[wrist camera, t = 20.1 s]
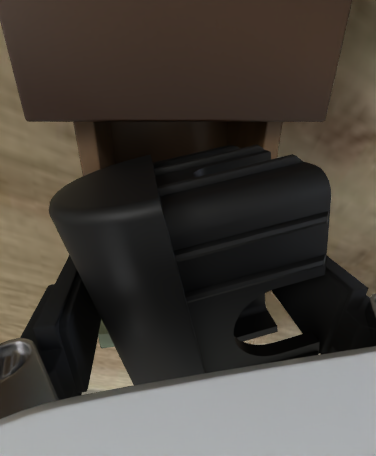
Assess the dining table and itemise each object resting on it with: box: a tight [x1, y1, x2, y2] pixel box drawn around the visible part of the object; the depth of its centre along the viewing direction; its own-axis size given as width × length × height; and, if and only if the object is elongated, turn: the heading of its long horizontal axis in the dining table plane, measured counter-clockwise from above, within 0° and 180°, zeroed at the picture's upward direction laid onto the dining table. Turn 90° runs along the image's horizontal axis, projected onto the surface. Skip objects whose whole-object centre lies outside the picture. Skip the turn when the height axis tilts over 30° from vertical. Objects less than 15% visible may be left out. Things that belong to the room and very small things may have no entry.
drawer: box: [73, 122, 283, 348], centre depth 17 cm, size 19×10×7 cm, turn 0°
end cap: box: [49, 145, 331, 385], centre depth 10 cm, size 10×7×7 cm
